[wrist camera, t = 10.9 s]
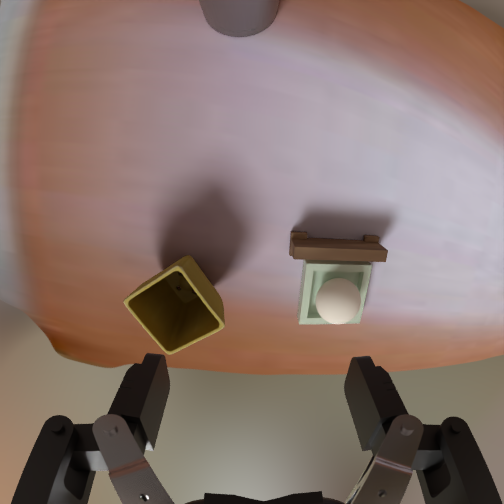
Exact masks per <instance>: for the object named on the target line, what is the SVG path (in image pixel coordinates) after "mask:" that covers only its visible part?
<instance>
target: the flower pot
mask: <svg viewBox="0 0 504 504" xmlns="http://www.w3.org/2000/svg"><path fill="white" fill-rule="evenodd" d="M179 272H181V273H182V274H183V275H180V274H179ZM177 286H179V287H181V289H180V290H178V289H177ZM193 290H194V291H195V292H196V293H193ZM124 304H125V305H126V307H127V308H128V309H129V311H130V312H131V313H132V315H133V316H134V317H135V318H136V319H137V320H138V322H139V323H140V324H141V325H142V327H143V328H144V329H145V330H146V331H147V332H148V333H149V335H150V336H151V337H152V338H153V339H154V340H155V341H156V343H157V344H158V345H159V346H160V347H161V348H162V349H163V350H164V351H165V352H166V353H167V354H169V355H170V354H173V353H175V352H177V351H180V350H181V349H183V348H185V347H187V346H189V345H191V344H193V343H195V342H197V341H199V340H201V339H203V338H205V337H208V336H210V335H212V334H214V333H216V332H218V331H219V330H221V329H222V328H224V326H225V322H224V307H223V302H222V299H221V297H220V295H219V294H218V292H217V291H216V289H215V288H214V287H213V285H212V284H211V283H210V281H209V280H208V279H207V277H206V276H205V275H204V273H203V272H202V270H201V269H200V268H199V266H198V265H197V263H196V262H195V260H194V259H193V258H192V257H191V256H189V255H187V256H184V257H183V258H181V259H180V260H178V261H177V262H175V263H174V264H172V265H171V266H169V267H168V268H166V269H165V270H163V271H161V272H160V273H158V274H157V275H155V276H154V277H152V278H150V279H149V280H147V281H146V282H144V283H143V284H141V285H140V286H139V287H138V288H137V289H136V290H135V291H133V292H132V293H131V294H130V295H129V296H128V297H127V298H125V300H124Z"/></svg>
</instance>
